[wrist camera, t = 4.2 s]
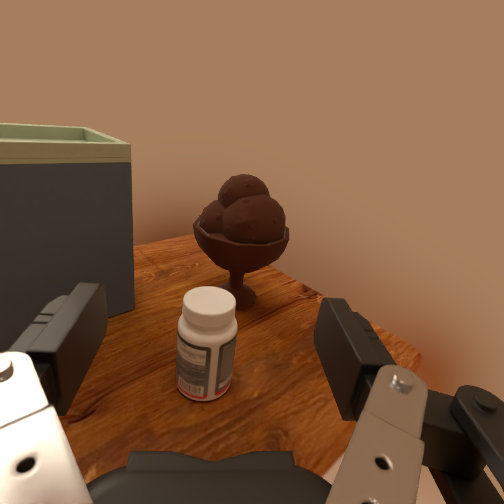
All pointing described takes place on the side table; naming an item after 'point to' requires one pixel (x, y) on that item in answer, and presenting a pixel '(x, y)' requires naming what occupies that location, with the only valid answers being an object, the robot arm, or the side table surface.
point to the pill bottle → (206, 343)
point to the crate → (63, 238)
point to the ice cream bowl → (242, 232)
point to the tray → (59, 145)
